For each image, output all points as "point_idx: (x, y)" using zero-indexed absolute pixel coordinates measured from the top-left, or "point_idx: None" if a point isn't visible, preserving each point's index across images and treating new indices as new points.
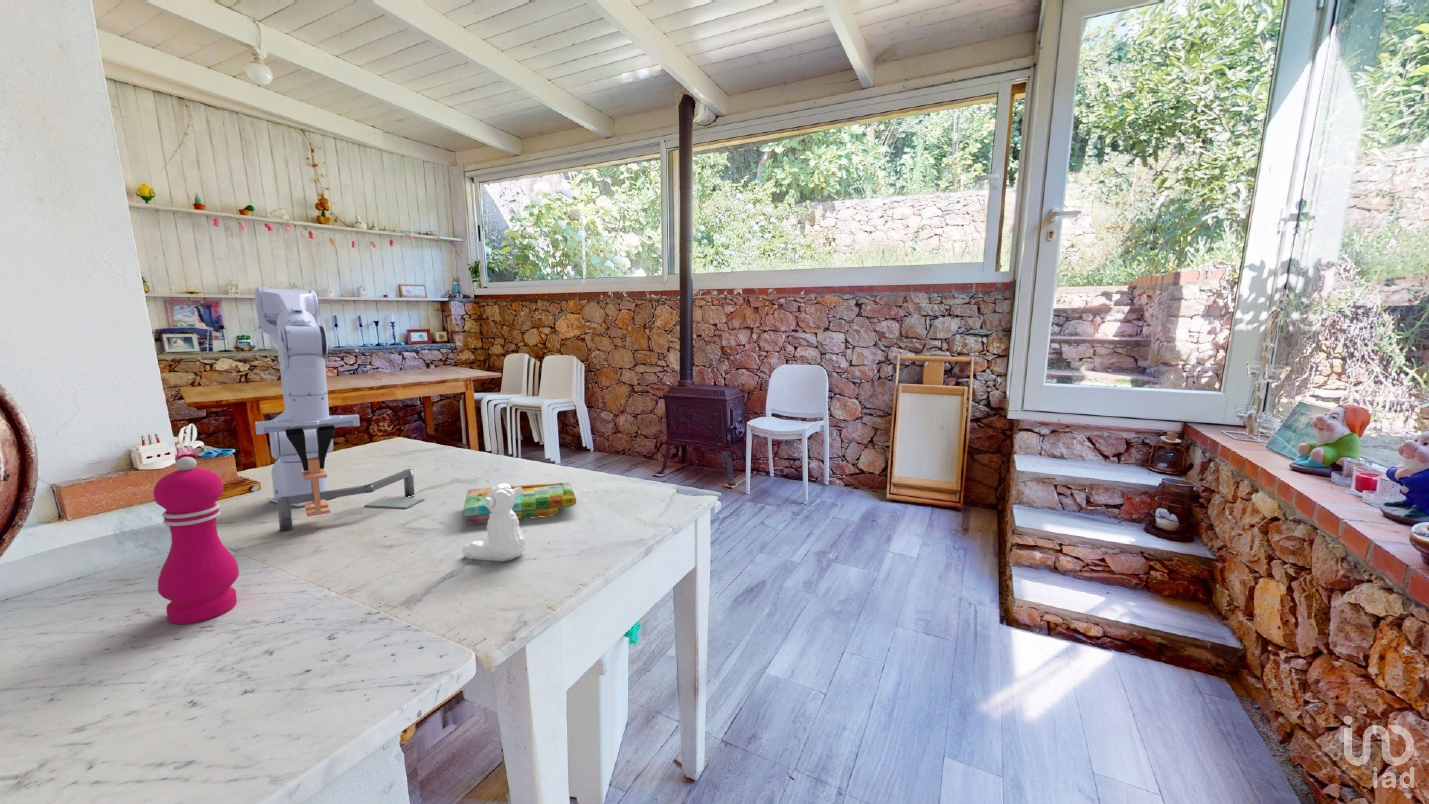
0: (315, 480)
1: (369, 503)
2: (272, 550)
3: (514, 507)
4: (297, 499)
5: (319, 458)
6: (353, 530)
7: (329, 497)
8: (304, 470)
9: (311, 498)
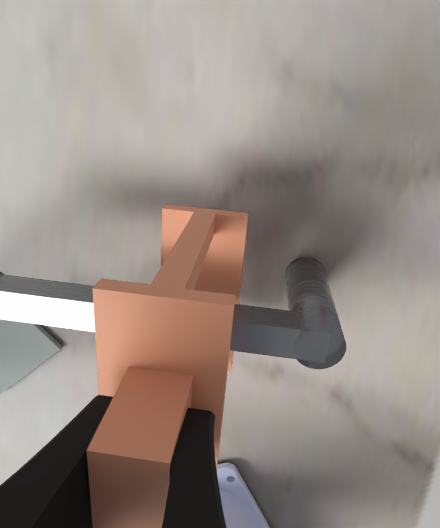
0: (172, 282)
1: (44, 355)
2: (401, 51)
3: None
4: (266, 319)
5: (80, 457)
6: (114, 88)
7: None
8: (210, 413)
9: None
